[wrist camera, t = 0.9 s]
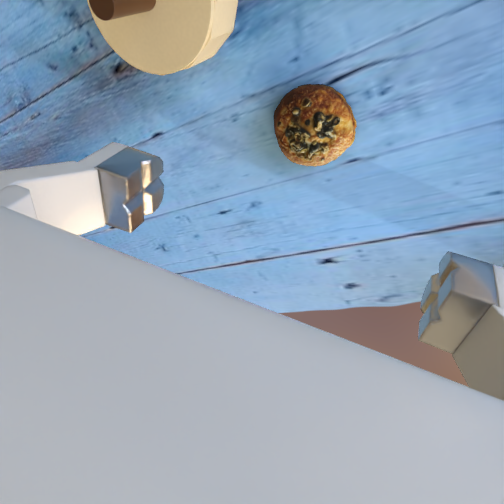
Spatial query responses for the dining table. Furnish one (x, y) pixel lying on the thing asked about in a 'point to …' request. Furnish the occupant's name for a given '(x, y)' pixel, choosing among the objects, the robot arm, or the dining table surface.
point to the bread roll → (314, 125)
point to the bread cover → (164, 30)
